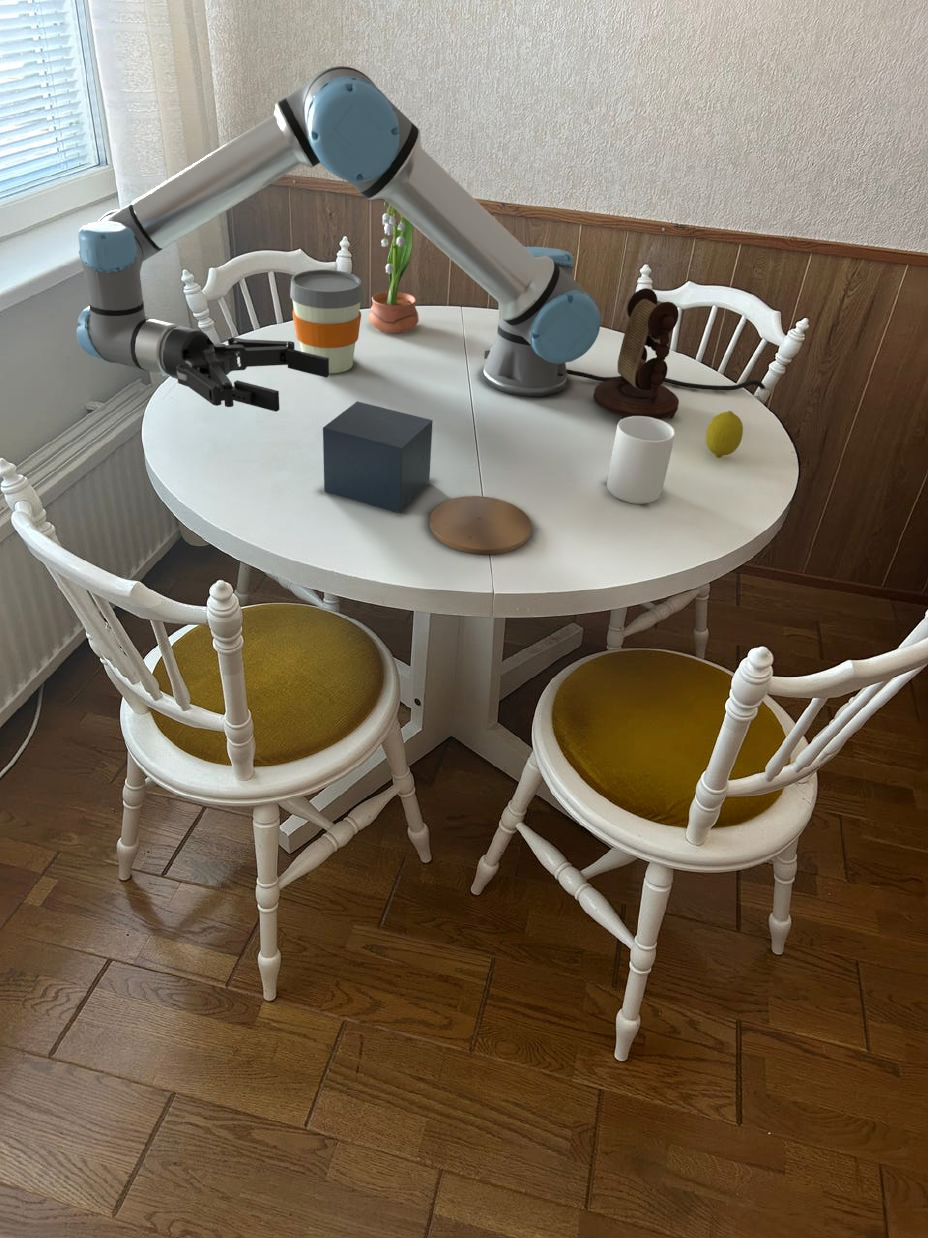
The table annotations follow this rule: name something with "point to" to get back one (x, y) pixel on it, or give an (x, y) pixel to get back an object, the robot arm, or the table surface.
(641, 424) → the mug
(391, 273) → the potted flower
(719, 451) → the lemon
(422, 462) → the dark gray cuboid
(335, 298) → the reusable coffee cup
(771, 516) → the table surface
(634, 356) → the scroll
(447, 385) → the table surface
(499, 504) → the cork trivet
